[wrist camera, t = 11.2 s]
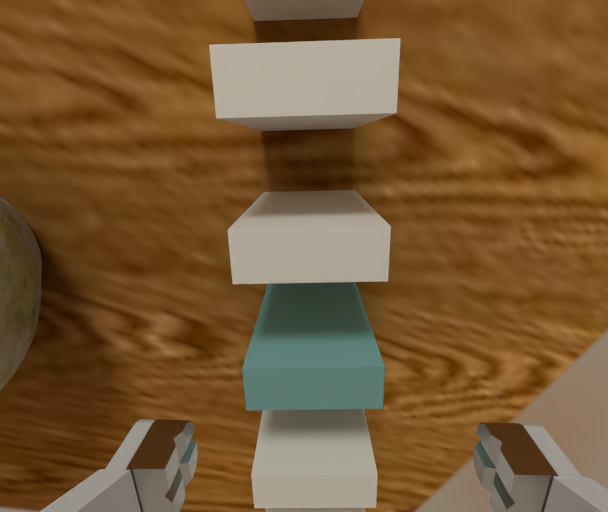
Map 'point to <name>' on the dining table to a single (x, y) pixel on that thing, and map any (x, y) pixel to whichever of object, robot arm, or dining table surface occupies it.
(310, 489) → the domino
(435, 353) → the dining table surface
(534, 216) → the dining table surface
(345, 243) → the domino
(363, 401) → the teal rectangular block
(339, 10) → the domino
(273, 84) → the domino
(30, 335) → the sugar bowl
